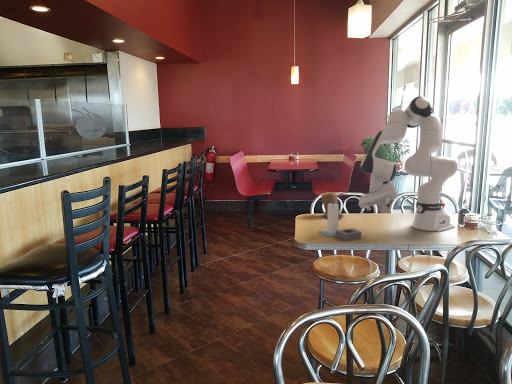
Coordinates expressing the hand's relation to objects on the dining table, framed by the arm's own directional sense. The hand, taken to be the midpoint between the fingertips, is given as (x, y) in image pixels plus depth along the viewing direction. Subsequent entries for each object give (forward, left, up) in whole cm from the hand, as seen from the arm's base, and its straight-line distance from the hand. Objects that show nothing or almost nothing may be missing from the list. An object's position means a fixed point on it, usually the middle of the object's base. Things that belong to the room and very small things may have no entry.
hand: (377, 206), depth 207 cm
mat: (+18, -13, -15) cm, 26 cm away
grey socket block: (+16, -2, -15) cm, 22 cm away
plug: (+18, -13, -14) cm, 26 cm away
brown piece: (-2, -44, -15) cm, 46 cm away
